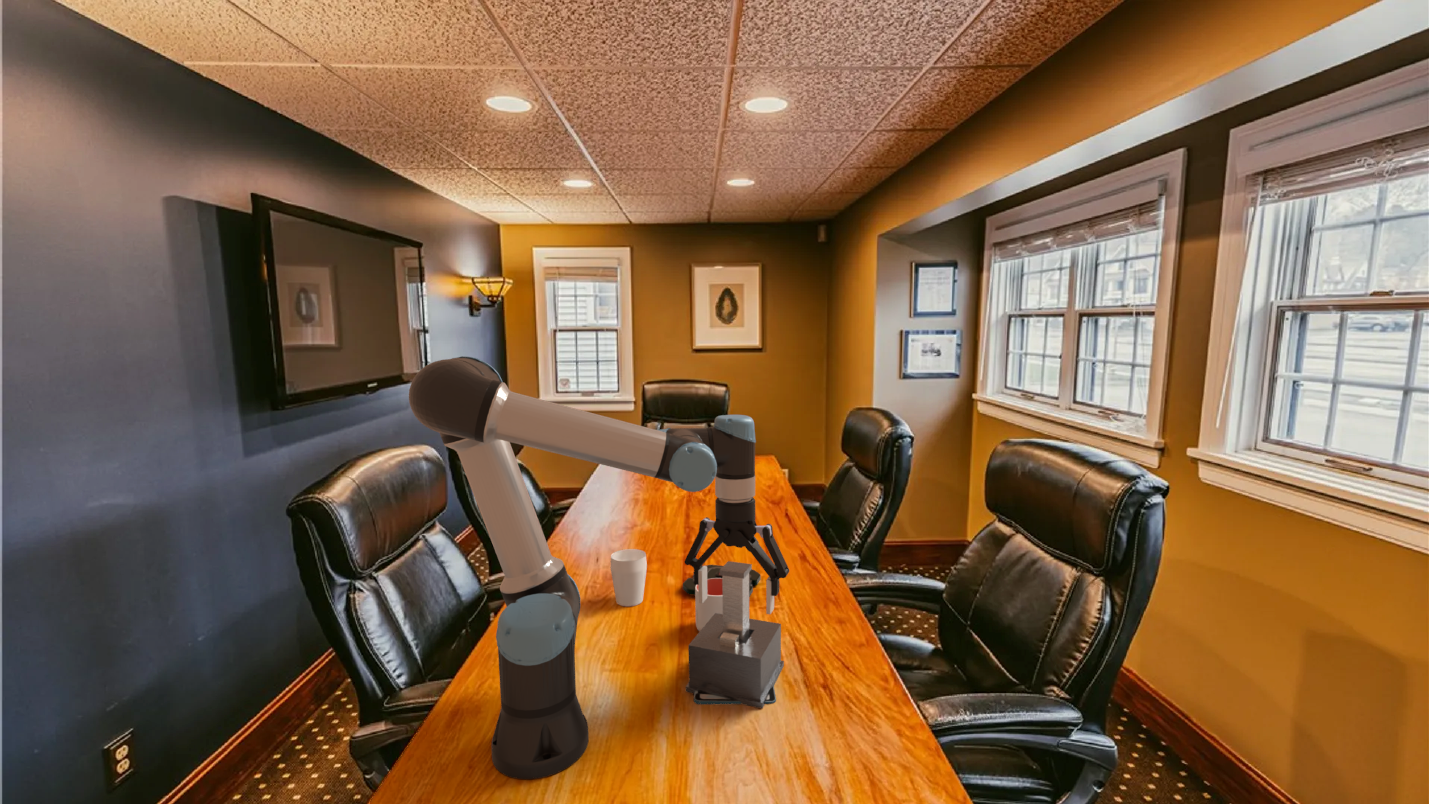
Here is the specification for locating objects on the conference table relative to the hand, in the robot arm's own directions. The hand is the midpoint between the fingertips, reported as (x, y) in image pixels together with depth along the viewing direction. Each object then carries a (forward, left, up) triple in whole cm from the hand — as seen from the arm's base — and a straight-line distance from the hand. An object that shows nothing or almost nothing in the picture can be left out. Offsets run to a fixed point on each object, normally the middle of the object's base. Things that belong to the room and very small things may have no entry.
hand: (736, 605), depth 116 cm
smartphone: (-5, -1, -15) cm, 16 cm away
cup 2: (+17, +11, -15) cm, 25 cm away
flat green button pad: (+39, +18, -15) cm, 46 cm away
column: (0, 0, -13) cm, 13 cm away
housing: (0, 0, -15) cm, 15 cm away
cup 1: (+23, +37, -15) cm, 46 cm away
